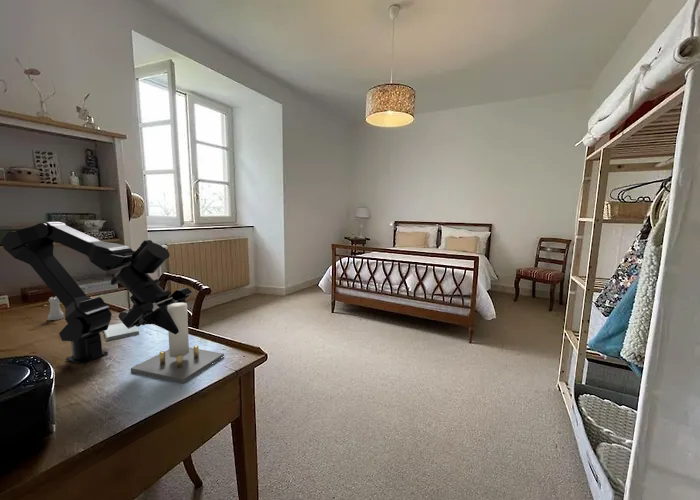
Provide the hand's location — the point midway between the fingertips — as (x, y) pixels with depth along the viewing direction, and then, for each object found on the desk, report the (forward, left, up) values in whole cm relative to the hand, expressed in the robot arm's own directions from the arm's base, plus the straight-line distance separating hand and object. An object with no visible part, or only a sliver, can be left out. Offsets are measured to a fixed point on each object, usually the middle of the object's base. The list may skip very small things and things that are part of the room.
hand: (183, 329), depth 78 cm
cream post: (-1, 0, -7) cm, 7 cm away
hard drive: (-37, +11, -10) cm, 40 cm away
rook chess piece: (-69, +12, -10) cm, 71 cm away
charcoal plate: (-1, 0, -9) cm, 10 cm away
